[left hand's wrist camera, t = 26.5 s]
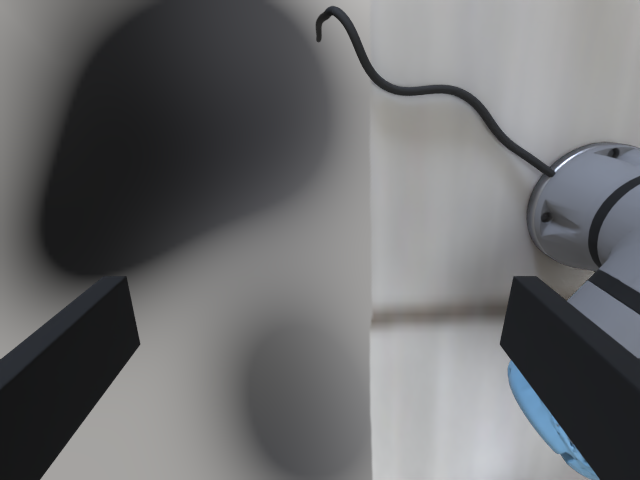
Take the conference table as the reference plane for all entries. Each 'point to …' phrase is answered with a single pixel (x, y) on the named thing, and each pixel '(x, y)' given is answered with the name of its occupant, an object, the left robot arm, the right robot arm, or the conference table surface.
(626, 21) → the conference table surface
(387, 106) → the conference table surface
